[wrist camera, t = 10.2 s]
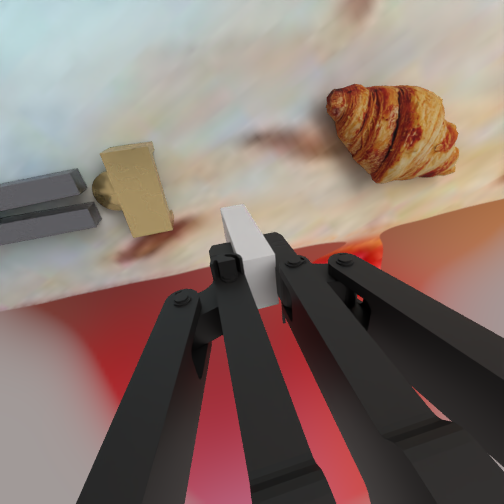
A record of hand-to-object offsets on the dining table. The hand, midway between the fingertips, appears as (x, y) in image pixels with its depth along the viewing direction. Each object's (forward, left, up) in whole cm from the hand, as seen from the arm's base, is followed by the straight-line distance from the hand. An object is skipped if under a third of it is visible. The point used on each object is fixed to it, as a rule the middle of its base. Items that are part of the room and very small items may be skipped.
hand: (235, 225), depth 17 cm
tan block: (-6, -3, -14) cm, 16 cm away
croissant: (+19, +12, -15) cm, 27 cm away
